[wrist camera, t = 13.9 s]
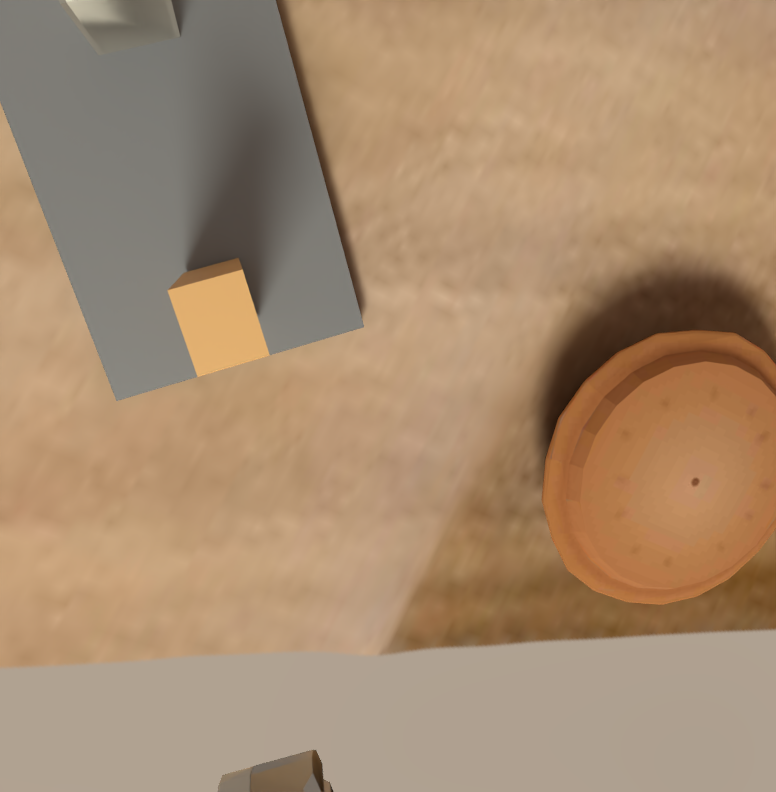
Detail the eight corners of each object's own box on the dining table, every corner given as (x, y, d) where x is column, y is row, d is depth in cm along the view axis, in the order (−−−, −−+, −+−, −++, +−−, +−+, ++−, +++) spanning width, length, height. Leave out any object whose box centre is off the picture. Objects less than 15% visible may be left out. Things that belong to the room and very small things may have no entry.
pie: (780, 503, 44) (848, 537, 39) (565, 616, 42) (608, 666, 37) (723, 274, 39) (791, 281, 34) (477, 393, 37) (514, 417, 33)
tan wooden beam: (238, 257, 31) (242, 269, 23) (258, 321, 32) (269, 355, 24) (183, 272, 31) (167, 290, 22) (205, 336, 32) (197, 376, 23)
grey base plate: (204, -246, 28) (196, -427, 20) (359, 323, 35) (397, 351, 27) (-107, -194, 26) (-247, -370, 18) (120, 394, 33) (87, 446, 25)
